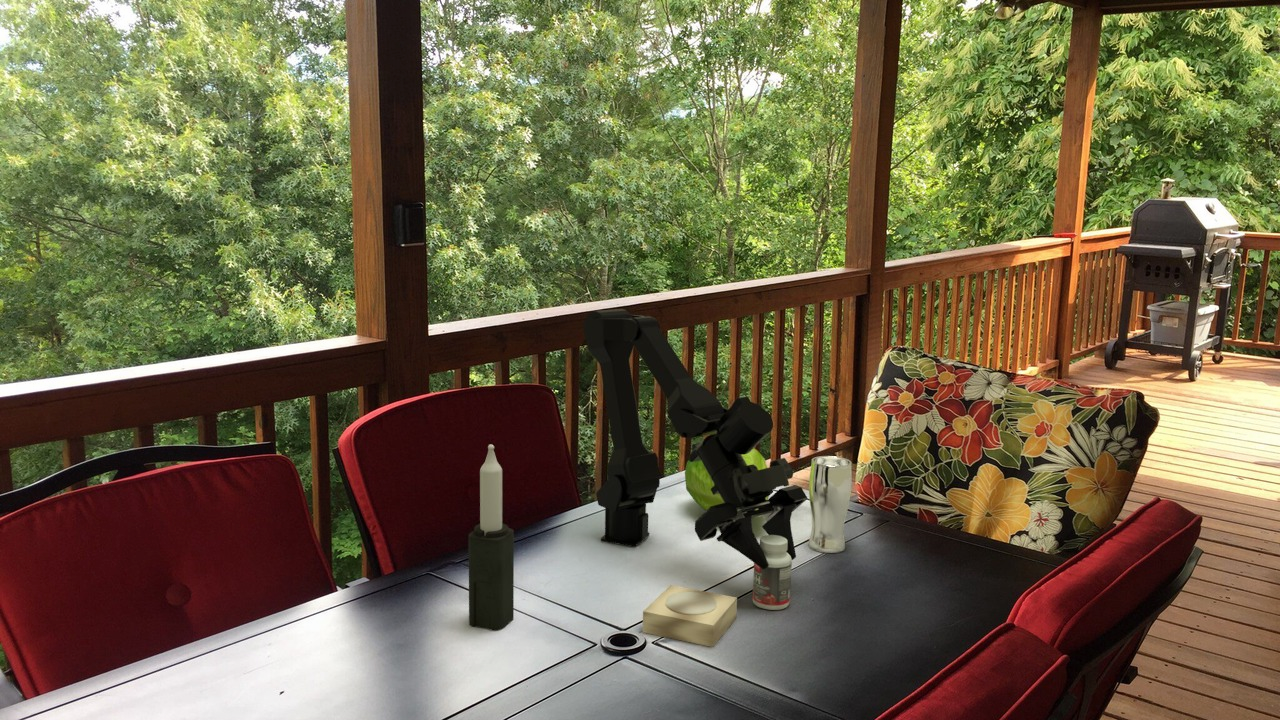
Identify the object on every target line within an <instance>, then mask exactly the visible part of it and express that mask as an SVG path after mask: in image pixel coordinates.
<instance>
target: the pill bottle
mask: <svg viewBox="0 0 1280 720" xmlns="http://www.w3.org/2000/svg"><path fill="white" fill-rule="evenodd" d="M759 545H760V547H761V549H762V551H763V553H764V555H765V557H766V559H767V562H768V564H769V566H768V567H767V568H766V569H762V568H761V567H759V566H758V565H757V564H755V563H754V562H753V579H752V581H753V582H752V602H753V604H754V605H755V606H757V607H758V608H760V609H764V610H771V611H779V610H784V609H785V608H787V607H788V606H789V605H790V599H791V582H792V581H791V580H792V563H793V562H792V561H793V560H792V559H791V556H790V555H789V554H788V553H787V552H786V551H787V546H788V541H787V539H786V538H784V537H782V536H777V535H768V534H765V535H762V536H761V537H760V538H759Z"/></svg>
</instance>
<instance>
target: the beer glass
mask: <svg viewBox="0 0 1280 720" xmlns="http://www.w3.org/2000/svg"><path fill="white" fill-rule="evenodd" d="M852 464H853V463H852V461H851V460H850V459H848V458H844V457H841V456H833V455H821V456H820V455H819V456H816V457H813V458H811V466H810V471H809V472H810V473H809V481H808V495H809V496H808V497H809V505H810V507H809V508H810V514H811V531H810V536H809V539H808V547H809V548H810V549H811V550H813V551H816V552H819V553H825V554H837V553H838V554H839V553H841V552H843V551H845V549H846V543H845V535H844V534H845V533H844V528H845V520H846V518H847V517H846V516H847V513H848V509H849V504H850V500H851V494H852V480H853V479H852V478H853V477H852Z"/></svg>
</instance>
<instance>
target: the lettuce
mask: <svg viewBox="0 0 1280 720" xmlns="http://www.w3.org/2000/svg"><path fill="white" fill-rule="evenodd" d="M741 455H742V457H743V459H744V460H745V462H746V464H747V466H748V465H752V464H754V465H755V466H756V467H757V468H758V470H761V469H765V468H768V465H767V462H766V458H765V457H764V456H763V455H762V454H761V453H760V451H759V450H757V449H756V448H755V447H754V448H753V449H752V450H751V451H750V452H749V453H747V454H741ZM684 480H685V481H684V482H685V488H686V491H687V492H688V494H689V495H690V496H691V497H692V500H694V502H695V503H696V504H697V505H698V506H699V507H700V508H702V509H704V510H705V511H706V510H707V509H709V508H710V507H711V506H714V505H718V504H722V503H724V501H723V499H722V498H721V496H720V494H715V495H713V493H712V491H711V488H712V487H713V486H714V483H713V481H712V479H711V477H710V476H709V474H708V472H707V470H706V468H705V466H704V465H703V463H702V461H701V460H700V461H695V462H690V461H689V459H688V461H687V462H686V464H685V469H684ZM769 498H770V496H767V497H766V498H765V499H766V500H768V499H769ZM756 510H758V509H756ZM759 517H763V515H760V516H756V517H755V518H759Z"/></svg>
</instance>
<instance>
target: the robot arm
mask: <svg viewBox="0 0 1280 720" xmlns="http://www.w3.org/2000/svg"><path fill="white" fill-rule="evenodd" d="M582 325H583V326H582V329H583V335H584V339H585V342H586V346H587V350H588V351H589V352H590V354H591V355H592V356H593V357H594V359H595V360H596V361H597V362H598V364H599V366H600V372H601V378H602V385H603V390H604V397H605V398H604V399H605V403H606V410H607V416H608V421H609V429H610V434H611V442H612V448H613V449H612V452H611V454H610V458H609V460H608V462H607V466H606V471H607V473H606V474H607V480H606V481H605V482H604V484H603V485H602V486H601V487H600V488H599V489H598V490H597V491H596V492H595V495H596V499H597V505H598V506H600V507H602V508H604V515H605V516H604V535H602V536H601V537H600V542H604V543H609V544H610V543H611V544H616V545H622V546H627V547H637V546H638V545H639V544H640V543H642V542H643V541H644V540H646V539H647V538H648V537H650V533H649V513H648V512H647V504H652V503H654V500H655V497H656V494H657V490H658V489H659V488H660V484H661V483H660V477H662V473H661V471H660V468H659V458H658V455H657V453H656V452H652V453H651V452H650V451H649V450H648V449H647V447H646V446H645V445H644V443H643V438H642V432H641V423H640V420H639V419H640V418H639V414H638V413H639V412H638V406H637V400H636V393H635V388H634V383H633V374H632V370H631V369H632V368H631V363H630V359H631V356H632V353H633V350H634V348H635V349H636V351H637V353H638V355H640V357H641V359H642V360H643V362H644V364H645V365H646V367H647V368H648V370H649V372H650V373H651V374H652V376H653V378H654V379H655V382H656V383H657V384H658V386H659V387H660V389H661V390H662V392H663V394H664V395H665V396H664V397H666V401H667V403H666V404H667V405H666V406H667V410H666V412H667V415H668V417H669V419H670V421H671V423H672V426H673V428H674V430H675V432H676V434H678V435H679V437H681V438H682V439H688V440H690V439H694V438H700V437H705V436H706V437H705V438H703V440H702V441H701V442H697V443H692V445H691V451H690V454H689V459H688V460H689V461H690V462H695V461H700V460H701V461H702V463H703V465H704V466H705V468H706V470H707V472H708V474H709V476H710V477H711V479H712V481H713V483H714V486H713V487H712V488H711V491H712V493H713V495H715V494H720V496H721V498H722V499H723V501H724V503H722V504H718V505H714V506H711V507H710V508H709V509H707V510H705V511H704V512H703V513H702V514H701V515H700V516H699V517H698V518H697V519H696V520H695V522H694V532H695V534H696V536H697V537H698V539H699V541H700V542H702V541H706V540H710V539H714V538H715V537H716V535H717V531H718V529H719V532H720V534H719V535H718V536H717V537H716V541H718V542H723V543H725V544H726V545H728V546H729V547H731V548H733V549H734V550H735V551H737V552H738V553H740V554H741V555H743V556H744V557H745V558H747V559H748V560H750V561H751V562H753V564H754V563H755V564H757V565H758V566H759V567H761V568H762V569H766V568H767V567H768V566H769V564H768V562H767V559H766V557H765V555H764V553H763V551H762V549H761V547H760V545H759V544H760V542H759V541H758V539H757V537H756V535H755V533H754V530H753V518H757V517H756V516H760V515H763V516H762V517H763V518H764V520H765V523H764V524H763V525H762V526H761V528H762V529H763V530H764V532H765V533H766V535H777V536H782V537H784V538H786V539H787V541H788V546H787V551H786V552H787V553H788V554H789V555H790V556H791V559H792V561H793V560H795V559H796V558H797V554H796V549H795V544H794V543H795V542H794V539H793V538H794V537H793V532H792V526H791V525H792V524H791V520H792V519H791V517H792V514H793V513H794V512H795V510H797V509H798V508H799V507H800V506H801V505H802V504H803V503H804V502H806V501H807V500H808V496H807V495H806V493H805V491H804V490H803V488H802V486H798V485H795V484H794V485H790V482H789V480H790V479H793V476H794V472H793V469H792V466H791V465H790V463H789V462H788V461H787V459H786V458H785V457H783V458H782V457H781V458H779V459H775V460H772V461H770V462H769V467H767V468H765V469H761V470H758V468H757V467H756V466H755V465H754V464H752V465H748V466H747V464H746V462H745V460H744V459H743V457H742V455H741V454H747V453H749V452H750V451H751V450H752V449H753V448H754V449H755V448H756V447H757V445H759V444H760V443H761V442H762V441H763V439H765V437H767V436H768V435H769V434H770V433H771V432H772V430H773V428H774V421H773V417H772V416H771V414H770V412H769V411H767V410H765V409H764V408H763V407H762V406H761V405H759V404H757V403H756V402H752V401H751V399H750V398H749V396H747V395H746V396H740V397H737V398H736V399H735V400H734V401H733V403H732V404H731V406H730V407H729V408H727V407H725V406H723V405H722V403H721V402H720V401H719V400H718V399H717V397H716V396H715V395H714V394H713V393H712V392H711V391H710V389H708V388H706V387H705V386H702V385H701V384H699V383H697V382H696V381H695V380H694V378H692V376H691V375H690V372H688V370H687V369H686V367H685V365H684V364H683V363H682V361H681V359H680V357H679V356H678V355H677V353H676V352H675V350H674V348H673V347H672V345H671V343H670V342H669V341H668V339H667V338H666V336H665V335H664V334H663V332H662V330H661V326H660V323H659V321H658V319H656V318H655V317H652V316H651V315H650V316H649V315H648V316H644V315H635V314H631V313H630V312H628V310H626V309H624V308H619V309H618V308H615V309H606V310H605V309H603V310H593V311H590V312H589V313H588V315H587V316H586V318H585V320H584V321H583V324H582ZM779 487H782V488H779ZM776 488H779V489H778V490H777V491H776V492H775V493H774V490H775V489H776ZM767 496H769V497H768V500H766V499H765V498H766V497H767ZM756 509H758V510H756ZM717 528H718V529H717Z"/></svg>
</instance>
